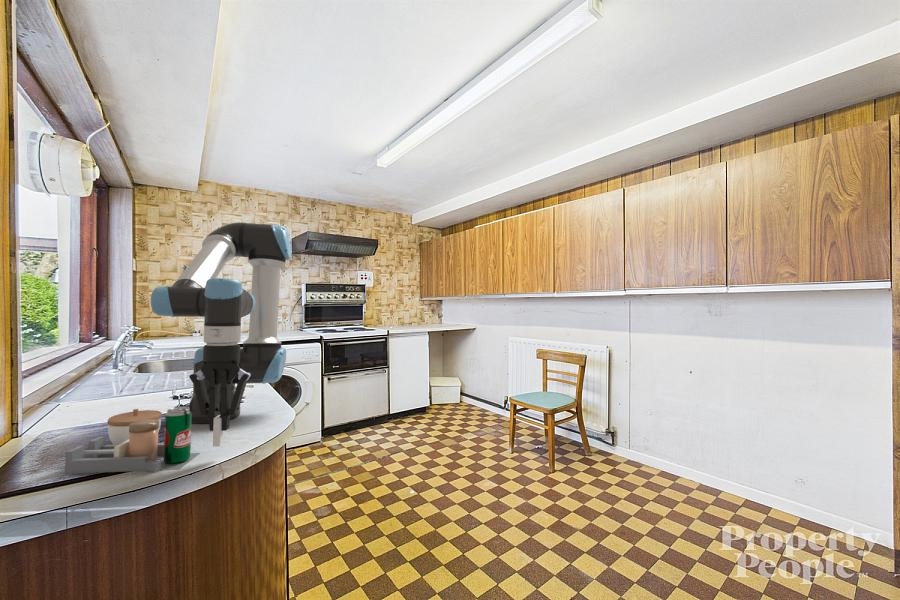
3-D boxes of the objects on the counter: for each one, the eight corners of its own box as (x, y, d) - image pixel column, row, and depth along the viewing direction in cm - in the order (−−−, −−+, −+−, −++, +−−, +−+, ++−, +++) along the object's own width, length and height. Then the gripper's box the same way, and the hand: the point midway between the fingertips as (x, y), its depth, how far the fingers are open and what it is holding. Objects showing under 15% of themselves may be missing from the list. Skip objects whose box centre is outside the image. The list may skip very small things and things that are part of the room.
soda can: (176, 466, 85) (178, 412, 86) (157, 464, 86) (159, 410, 87) (195, 457, 90) (197, 406, 90) (177, 455, 91) (179, 405, 92)
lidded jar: (157, 435, 105) (158, 401, 105) (163, 446, 98) (165, 410, 98) (105, 445, 98) (106, 408, 98) (107, 457, 90) (109, 418, 90)
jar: (137, 457, 89) (139, 419, 90) (163, 457, 90) (164, 419, 90) (121, 467, 84) (123, 426, 84) (148, 466, 85) (150, 426, 85)
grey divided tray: (102, 455, 91) (103, 434, 91) (203, 452, 94) (203, 432, 94) (60, 477, 80) (61, 453, 80) (176, 473, 83) (177, 450, 83)
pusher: (85, 457, 88) (85, 438, 88) (137, 455, 90) (138, 436, 90) (61, 468, 82) (62, 448, 82) (118, 466, 84) (119, 446, 84)
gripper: (183, 345, 85) (179, 451, 85) (245, 345, 87) (242, 449, 87) (200, 342, 93) (196, 439, 92) (257, 342, 95) (254, 438, 94)
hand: (218, 444), depth 90 cm, fingers closed
